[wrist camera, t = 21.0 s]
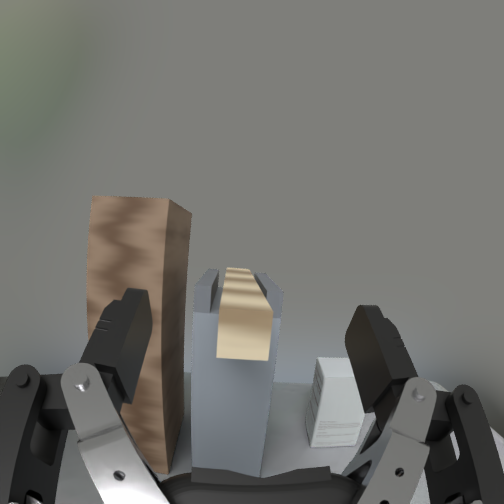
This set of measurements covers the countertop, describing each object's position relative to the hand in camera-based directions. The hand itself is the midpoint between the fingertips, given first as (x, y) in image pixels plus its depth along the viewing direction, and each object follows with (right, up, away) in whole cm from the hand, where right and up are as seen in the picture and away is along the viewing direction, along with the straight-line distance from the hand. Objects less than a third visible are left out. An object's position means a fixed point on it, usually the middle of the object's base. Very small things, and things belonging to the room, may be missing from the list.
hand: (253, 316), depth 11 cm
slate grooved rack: (-4, -25, +24) cm, 35 cm away
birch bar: (-1, -3, +17) cm, 18 cm away
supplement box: (+12, -26, +27) cm, 40 cm away
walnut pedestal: (-15, -24, +23) cm, 36 cm away
